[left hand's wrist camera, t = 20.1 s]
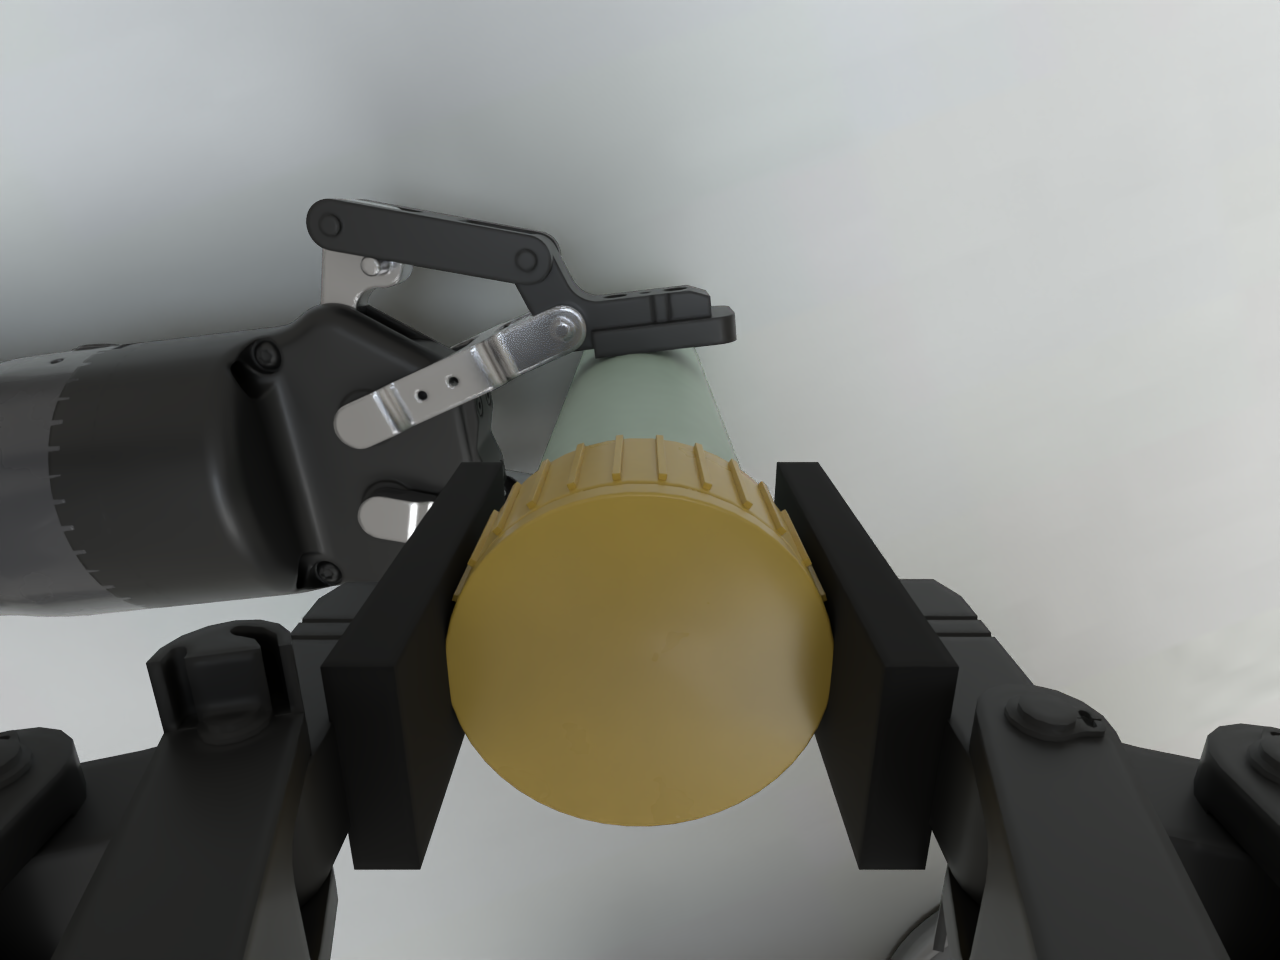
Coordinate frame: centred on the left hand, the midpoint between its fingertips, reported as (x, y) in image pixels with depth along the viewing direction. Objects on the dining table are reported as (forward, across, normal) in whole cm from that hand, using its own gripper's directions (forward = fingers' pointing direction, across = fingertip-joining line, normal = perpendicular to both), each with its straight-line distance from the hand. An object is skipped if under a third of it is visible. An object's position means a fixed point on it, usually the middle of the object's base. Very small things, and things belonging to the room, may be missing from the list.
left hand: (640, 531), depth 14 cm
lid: (-4, 0, 0) cm, 4 cm away
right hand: (+7, -3, 0) cm, 8 cm away
